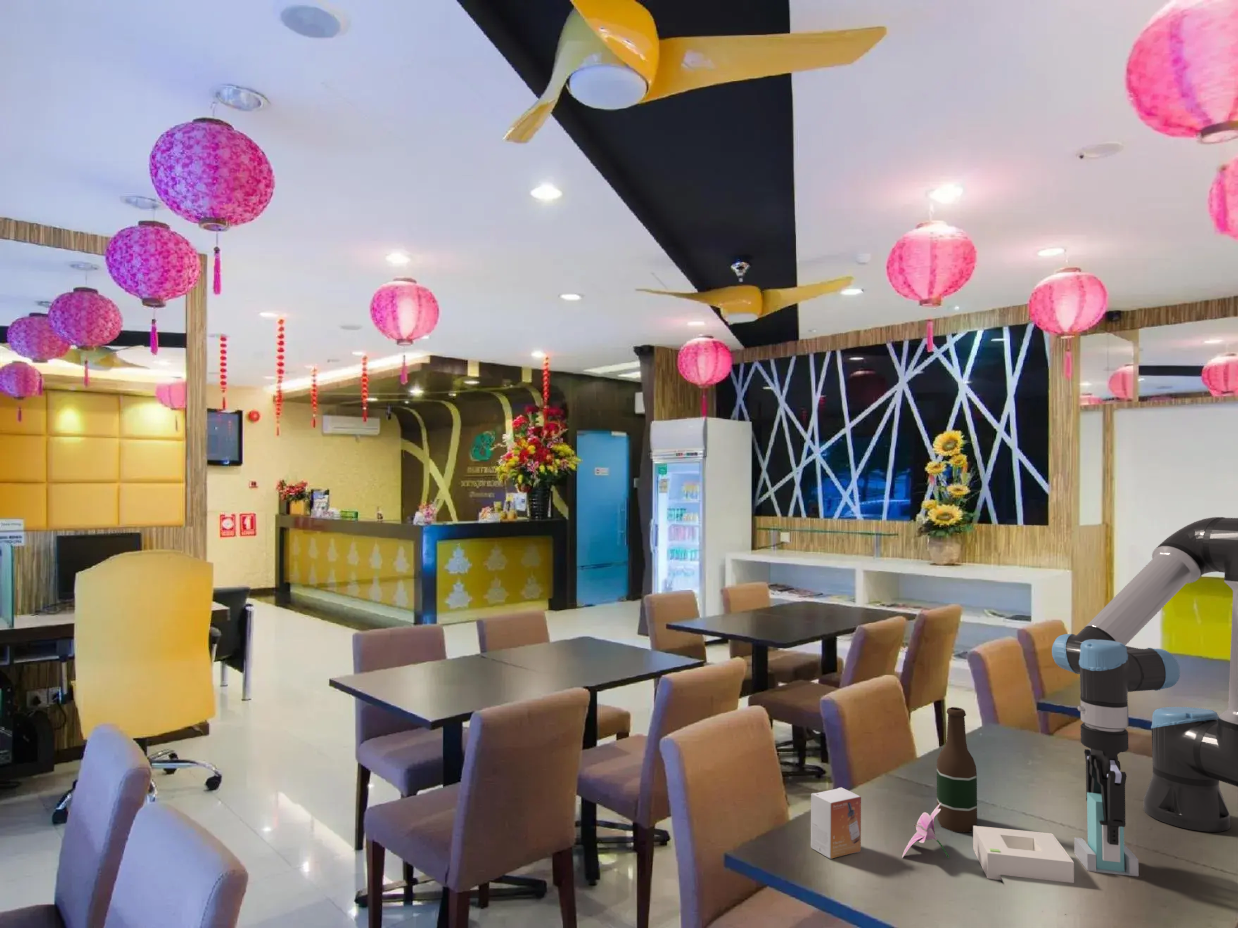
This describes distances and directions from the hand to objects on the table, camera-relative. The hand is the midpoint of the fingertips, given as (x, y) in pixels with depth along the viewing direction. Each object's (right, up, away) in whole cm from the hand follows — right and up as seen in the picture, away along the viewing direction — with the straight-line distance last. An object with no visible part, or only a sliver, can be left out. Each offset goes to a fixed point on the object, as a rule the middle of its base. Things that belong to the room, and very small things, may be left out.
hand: (1105, 853), depth 144 cm
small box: (-48, -3, +7) cm, 48 cm away
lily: (-31, -3, +6) cm, 32 cm away
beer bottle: (-19, -4, +19) cm, 27 cm away
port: (-15, -3, 0) cm, 16 cm away
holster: (0, -3, 0) cm, 3 cm away
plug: (0, -2, 0) cm, 2 cm away
